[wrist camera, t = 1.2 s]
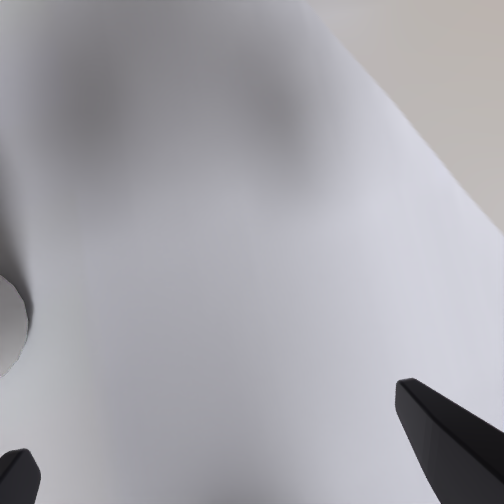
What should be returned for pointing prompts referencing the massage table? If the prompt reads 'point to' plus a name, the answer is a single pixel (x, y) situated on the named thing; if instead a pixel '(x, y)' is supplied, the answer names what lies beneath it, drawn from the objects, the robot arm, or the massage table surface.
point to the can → (11, 325)
